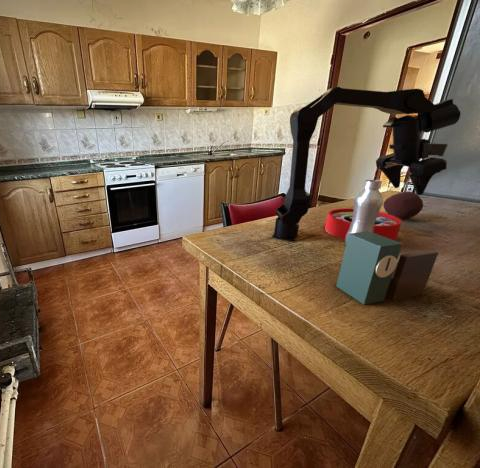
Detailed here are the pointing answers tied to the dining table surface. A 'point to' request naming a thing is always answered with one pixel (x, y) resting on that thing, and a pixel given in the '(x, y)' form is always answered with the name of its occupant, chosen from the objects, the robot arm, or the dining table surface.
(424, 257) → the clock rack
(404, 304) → the dining table surface
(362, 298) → the clock
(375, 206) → the silver metal bottle
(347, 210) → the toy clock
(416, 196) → the potato
